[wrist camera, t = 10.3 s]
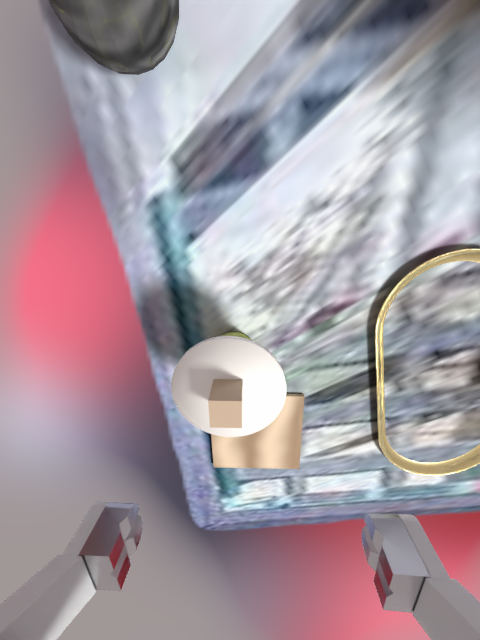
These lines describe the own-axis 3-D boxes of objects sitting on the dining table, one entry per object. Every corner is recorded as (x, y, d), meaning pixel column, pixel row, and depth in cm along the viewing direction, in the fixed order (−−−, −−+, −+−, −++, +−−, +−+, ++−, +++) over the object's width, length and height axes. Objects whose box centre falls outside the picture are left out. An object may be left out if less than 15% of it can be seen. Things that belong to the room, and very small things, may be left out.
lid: (288, 335, 25) (295, 356, 21) (283, 432, 29) (288, 465, 25) (168, 335, 25) (152, 355, 21) (179, 430, 29) (167, 462, 25)
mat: (303, 394, 37) (304, 396, 36) (298, 465, 42) (298, 468, 41) (208, 393, 38) (208, 396, 37) (214, 464, 42) (213, 467, 42)
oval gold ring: (375, 473, 42) (380, 481, 41) (367, 264, 31) (373, 266, 30) (497, 459, 40) (506, 468, 39) (534, 232, 29) (550, 232, 28)
